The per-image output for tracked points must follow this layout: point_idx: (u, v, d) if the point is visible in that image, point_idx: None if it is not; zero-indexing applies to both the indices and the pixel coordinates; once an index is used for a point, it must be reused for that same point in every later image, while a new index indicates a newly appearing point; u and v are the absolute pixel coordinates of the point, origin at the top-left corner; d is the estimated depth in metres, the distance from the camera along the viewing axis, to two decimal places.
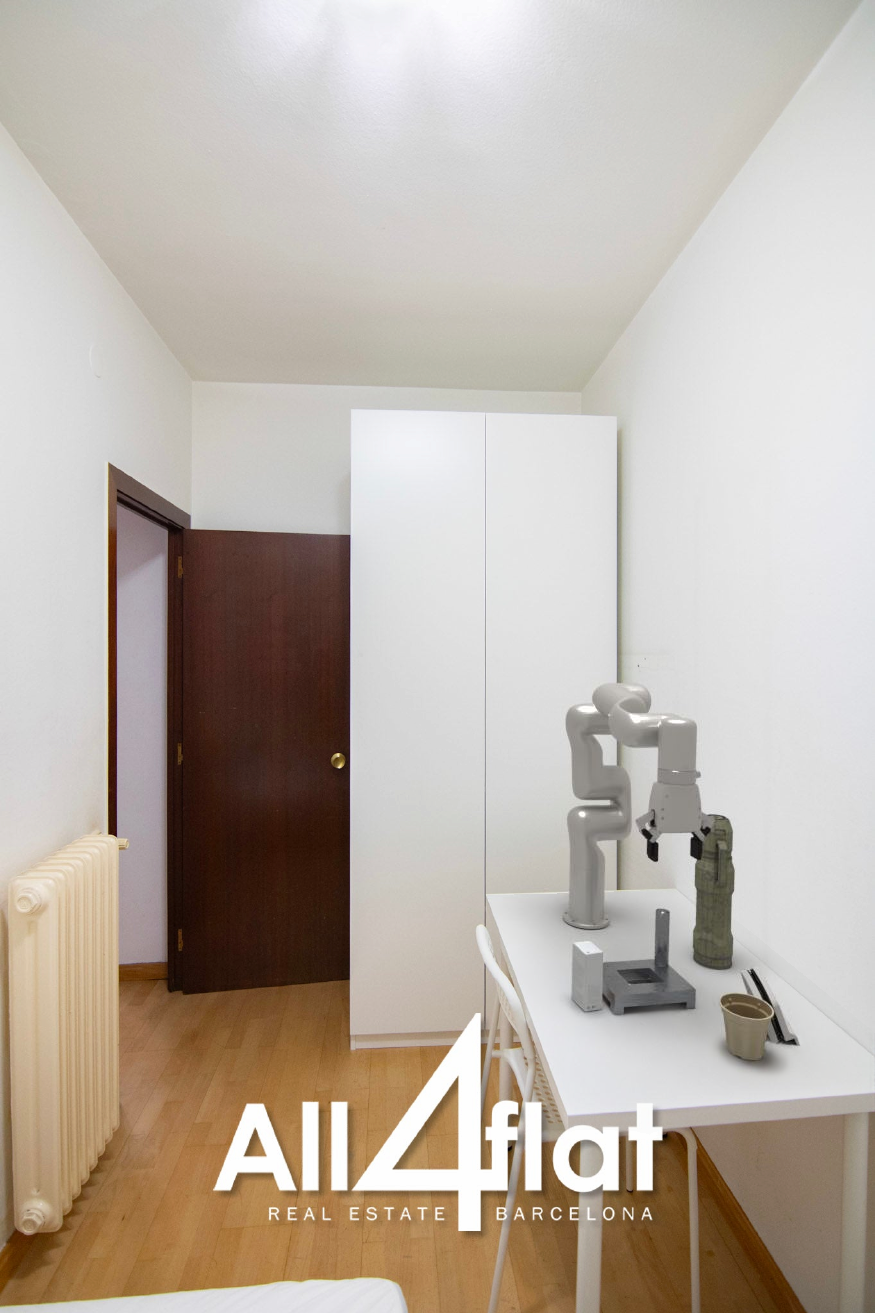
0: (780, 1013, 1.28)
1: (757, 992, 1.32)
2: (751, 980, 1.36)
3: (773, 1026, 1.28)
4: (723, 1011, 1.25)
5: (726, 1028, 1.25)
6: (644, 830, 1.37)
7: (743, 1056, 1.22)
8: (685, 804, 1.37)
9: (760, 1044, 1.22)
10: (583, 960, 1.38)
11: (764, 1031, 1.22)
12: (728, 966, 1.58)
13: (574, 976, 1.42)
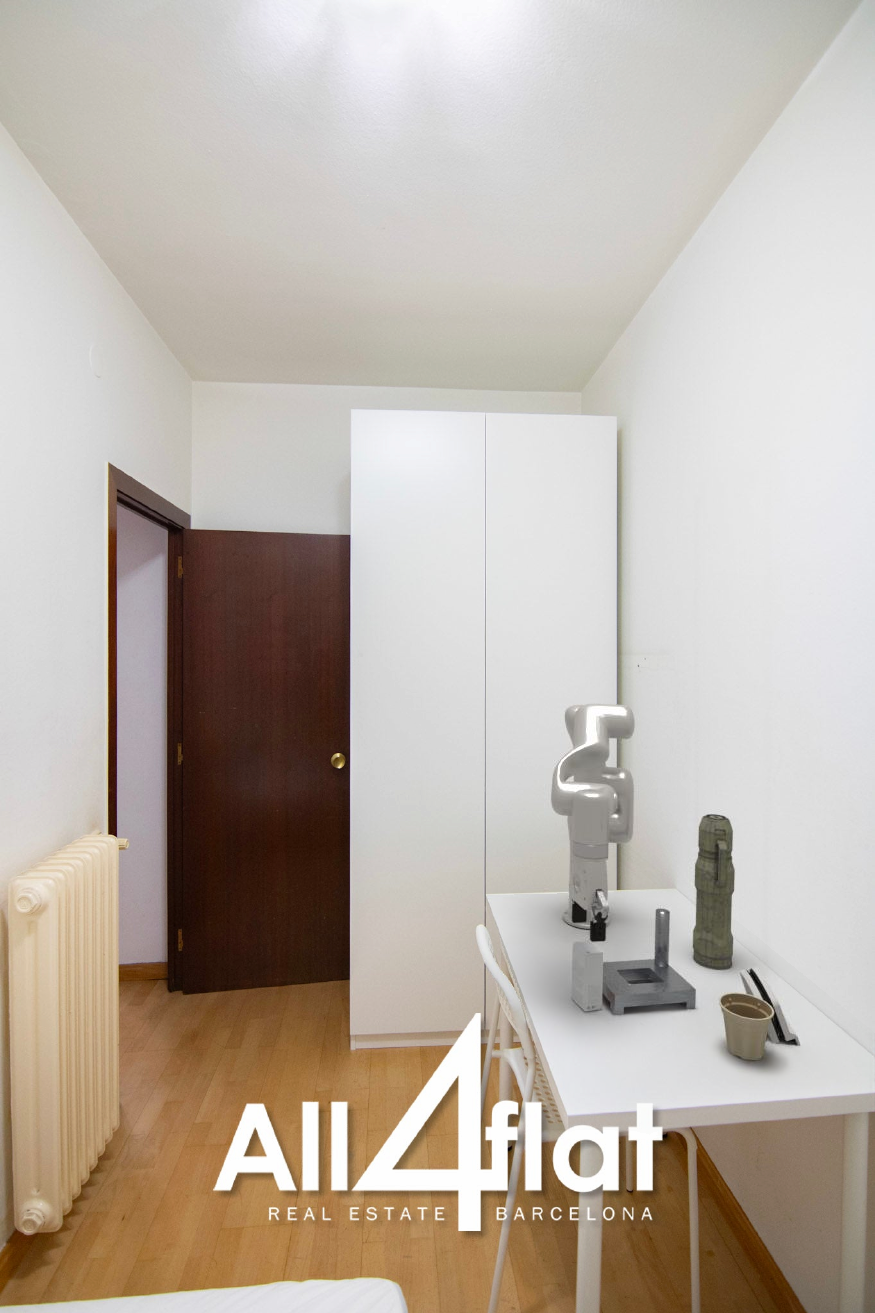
0: (781, 1013, 1.28)
1: (757, 992, 1.32)
2: (751, 980, 1.35)
3: (774, 1026, 1.28)
4: (723, 1011, 1.25)
5: (726, 1028, 1.25)
6: None
7: (743, 1056, 1.22)
8: None
9: (760, 1044, 1.22)
10: (583, 960, 1.38)
11: (764, 1031, 1.22)
12: (728, 966, 1.58)
13: (574, 976, 1.42)
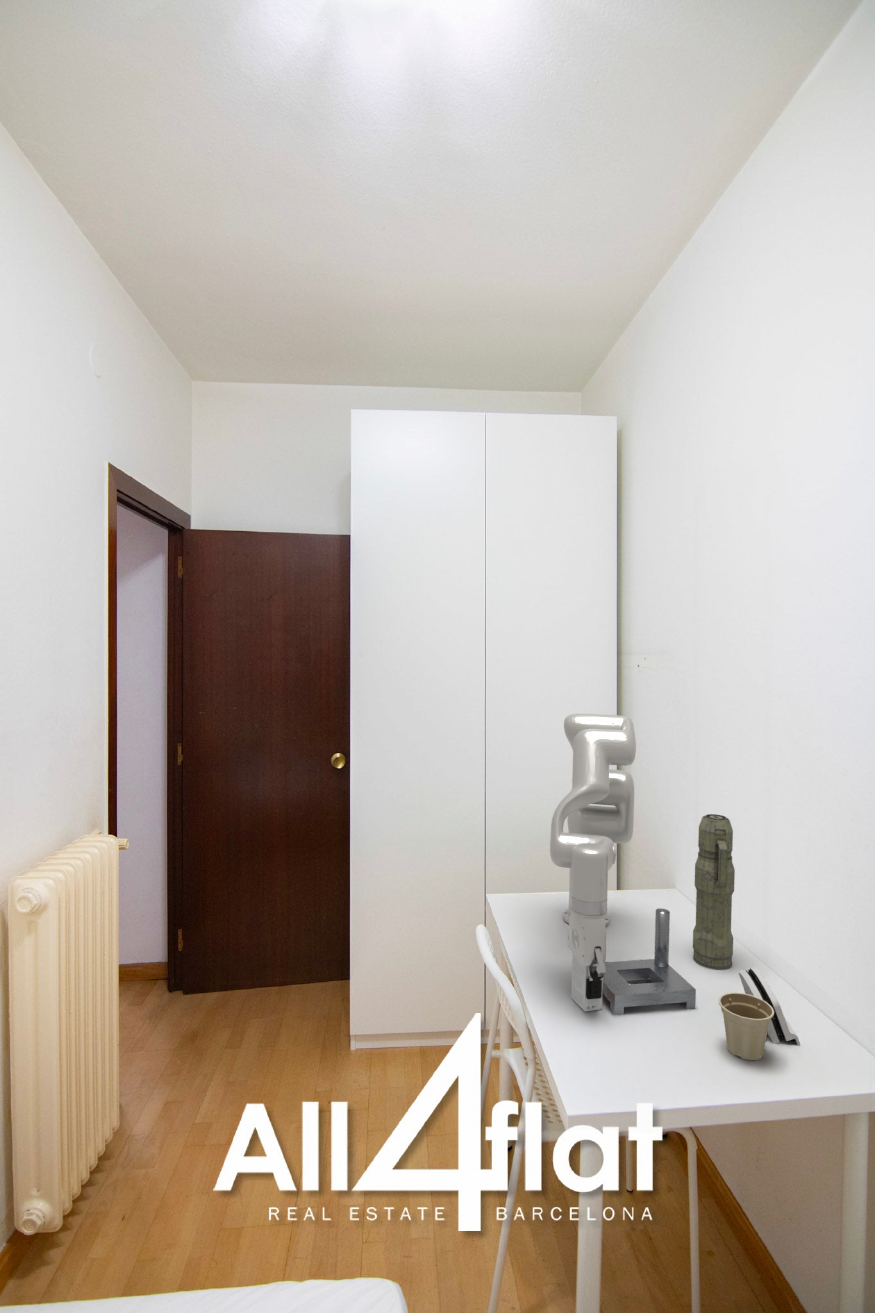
0: (781, 1013, 1.28)
1: (757, 992, 1.32)
2: (751, 980, 1.35)
3: (774, 1026, 1.28)
4: (723, 1011, 1.25)
5: (726, 1028, 1.25)
6: None
7: (743, 1056, 1.22)
8: None
9: (760, 1044, 1.22)
10: None
11: (764, 1031, 1.22)
12: (728, 966, 1.58)
13: (574, 976, 1.42)
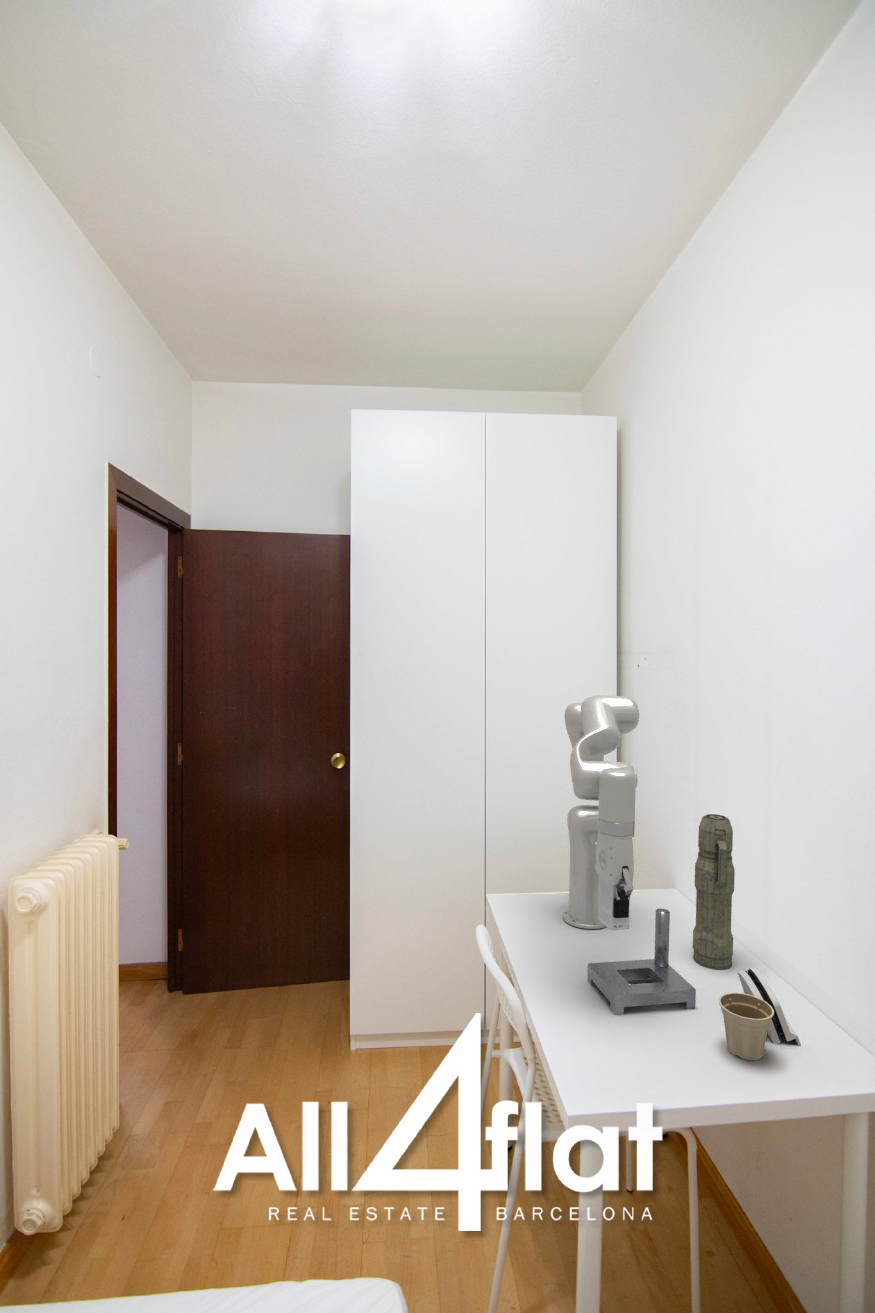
0: (781, 1013, 1.28)
1: (758, 993, 1.31)
2: (751, 981, 1.35)
3: (775, 1027, 1.28)
4: (723, 1011, 1.25)
5: (726, 1028, 1.25)
6: None
7: (743, 1056, 1.22)
8: None
9: (760, 1044, 1.22)
10: None
11: (764, 1031, 1.22)
12: (728, 966, 1.58)
13: (601, 898, 1.44)
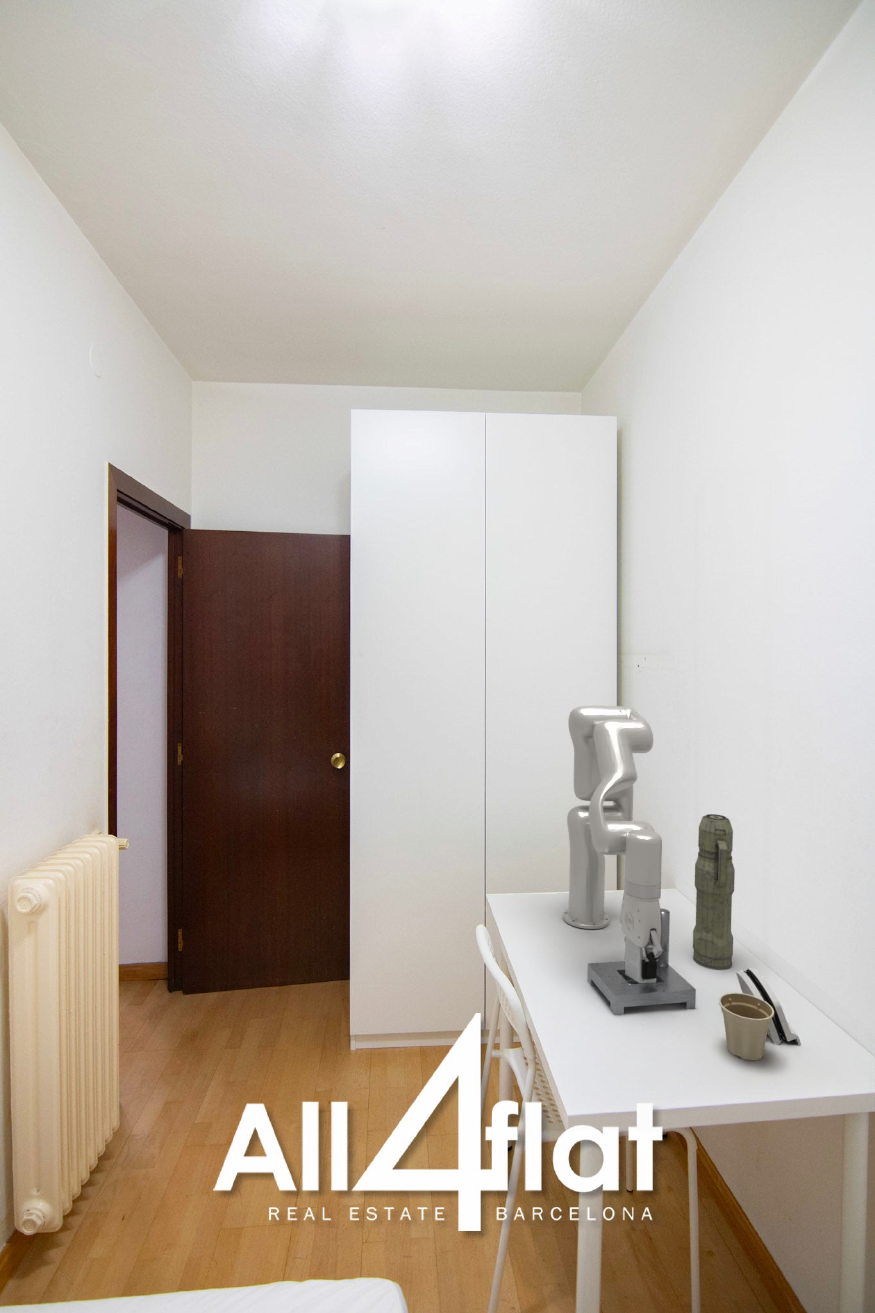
0: (782, 1014, 1.28)
1: (758, 993, 1.31)
2: (750, 981, 1.35)
3: (775, 1027, 1.28)
4: (723, 1011, 1.25)
5: (726, 1028, 1.25)
6: None
7: (743, 1056, 1.22)
8: None
9: (760, 1044, 1.22)
10: None
11: (764, 1031, 1.22)
12: (728, 966, 1.58)
13: (627, 951, 1.47)
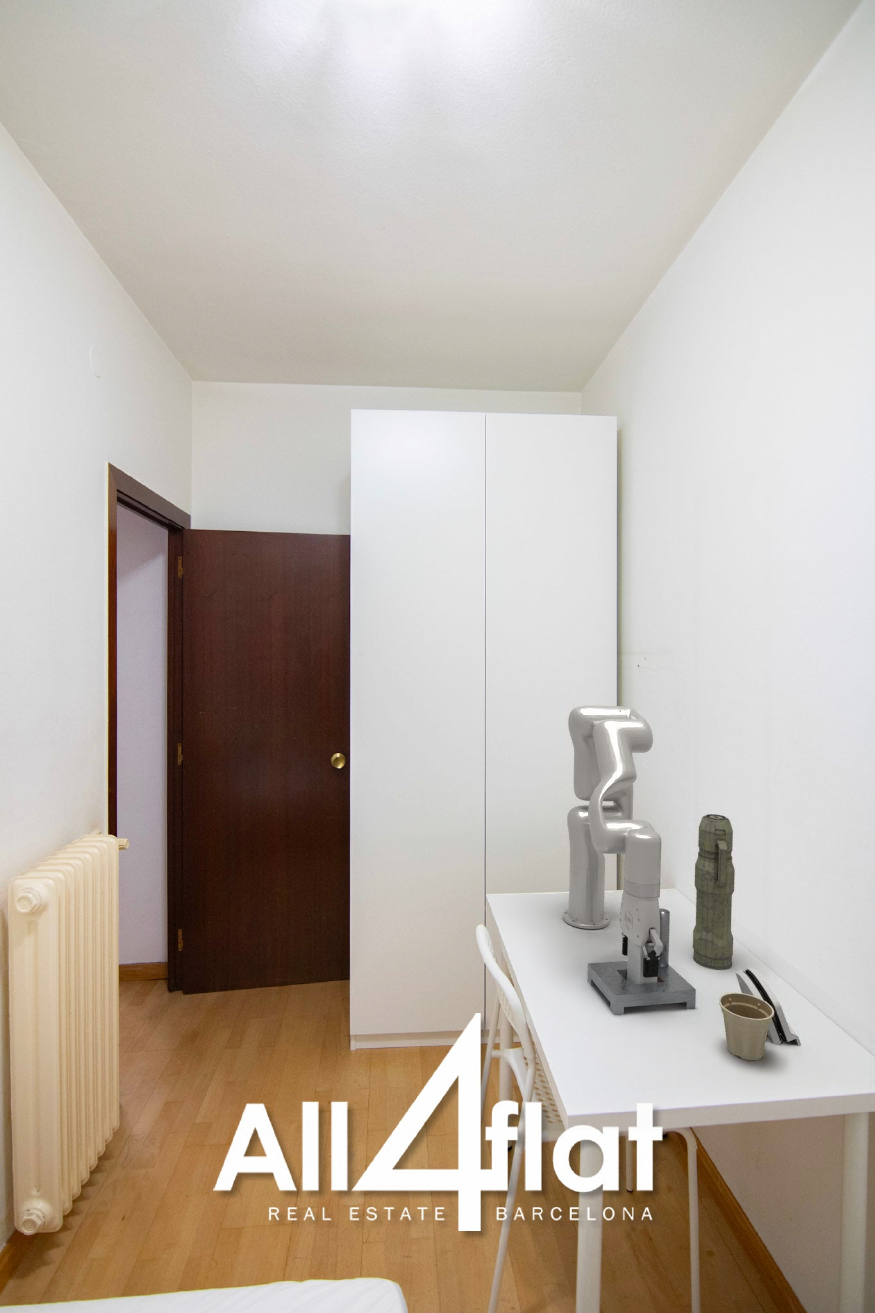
0: (782, 1014, 1.28)
1: (758, 993, 1.31)
2: (750, 981, 1.35)
3: (775, 1027, 1.28)
4: (723, 1011, 1.25)
5: (726, 1028, 1.25)
6: (660, 951, 1.38)
7: (743, 1056, 1.22)
8: None
9: (760, 1044, 1.22)
10: (638, 951, 1.43)
11: (764, 1031, 1.22)
12: (728, 966, 1.58)
13: (629, 967, 1.46)
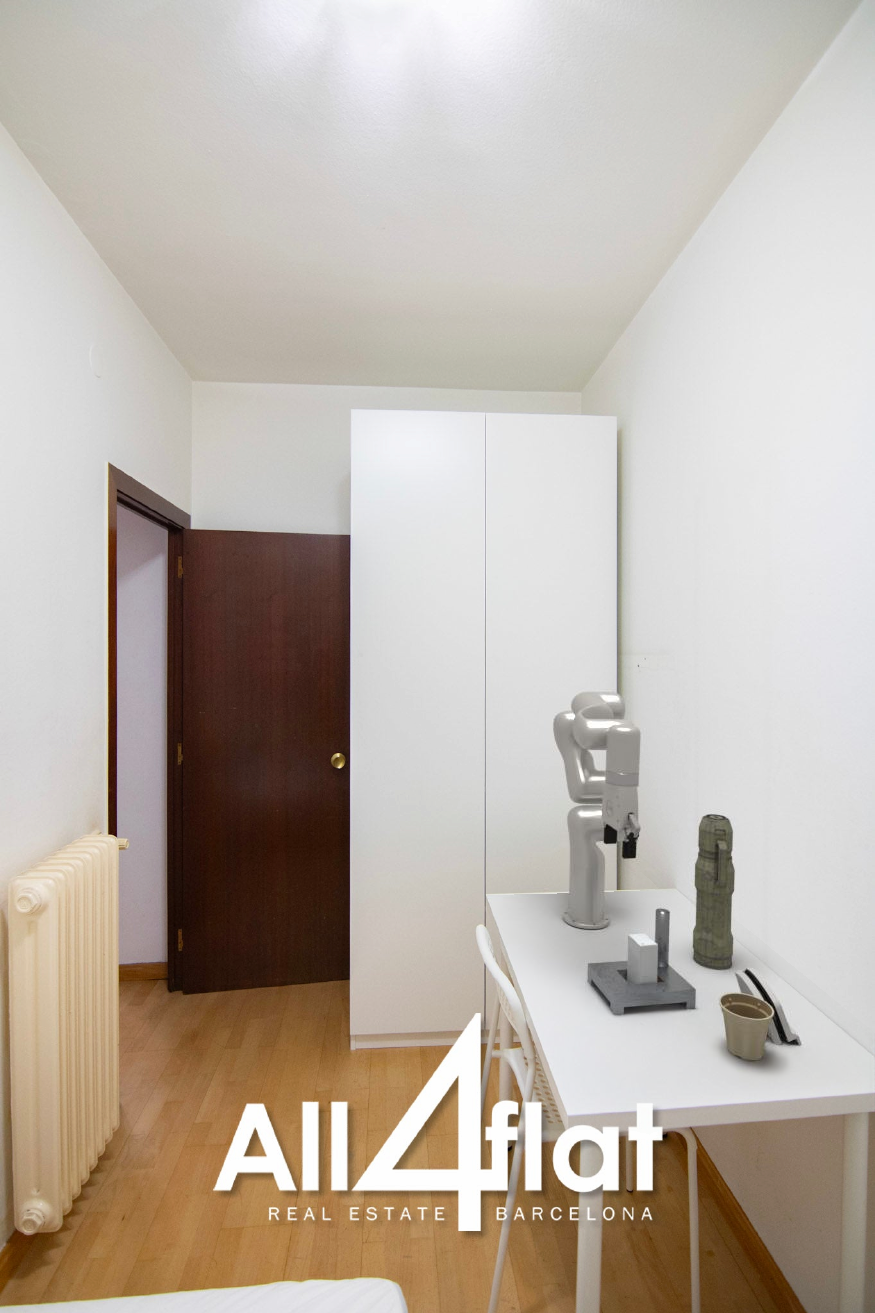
0: (782, 1014, 1.28)
1: (758, 994, 1.31)
2: (750, 981, 1.35)
3: (776, 1027, 1.28)
4: (723, 1011, 1.25)
5: (726, 1028, 1.25)
6: None
7: (743, 1056, 1.22)
8: None
9: (760, 1044, 1.22)
10: (638, 951, 1.43)
11: (764, 1031, 1.22)
12: (728, 966, 1.58)
13: (629, 967, 1.46)
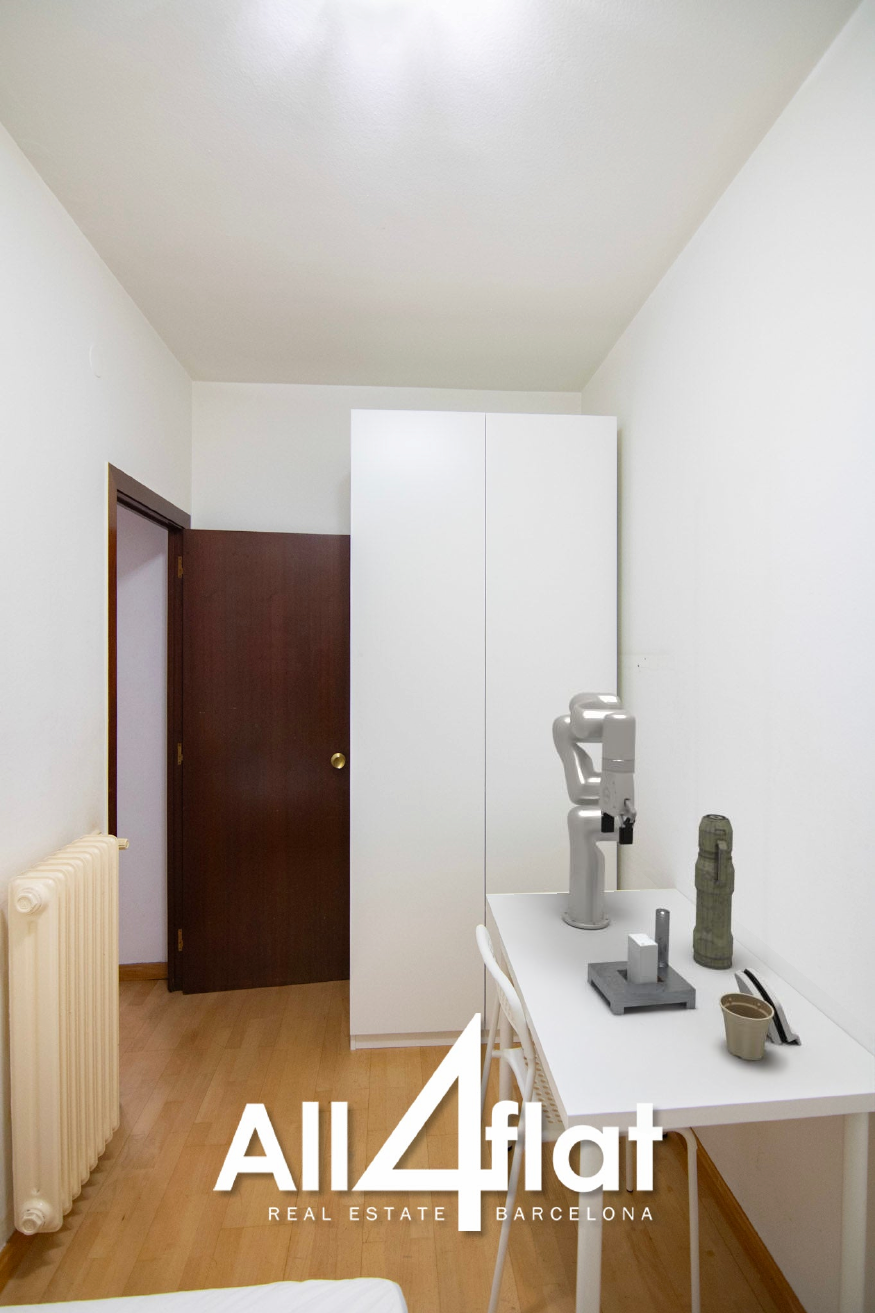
0: (783, 1014, 1.28)
1: (758, 994, 1.31)
2: (750, 982, 1.35)
3: (776, 1027, 1.28)
4: (723, 1011, 1.25)
5: (726, 1028, 1.25)
6: (634, 818, 1.50)
7: (743, 1056, 1.22)
8: None
9: (760, 1044, 1.22)
10: (638, 951, 1.43)
11: (764, 1031, 1.22)
12: (728, 966, 1.58)
13: (629, 967, 1.46)
